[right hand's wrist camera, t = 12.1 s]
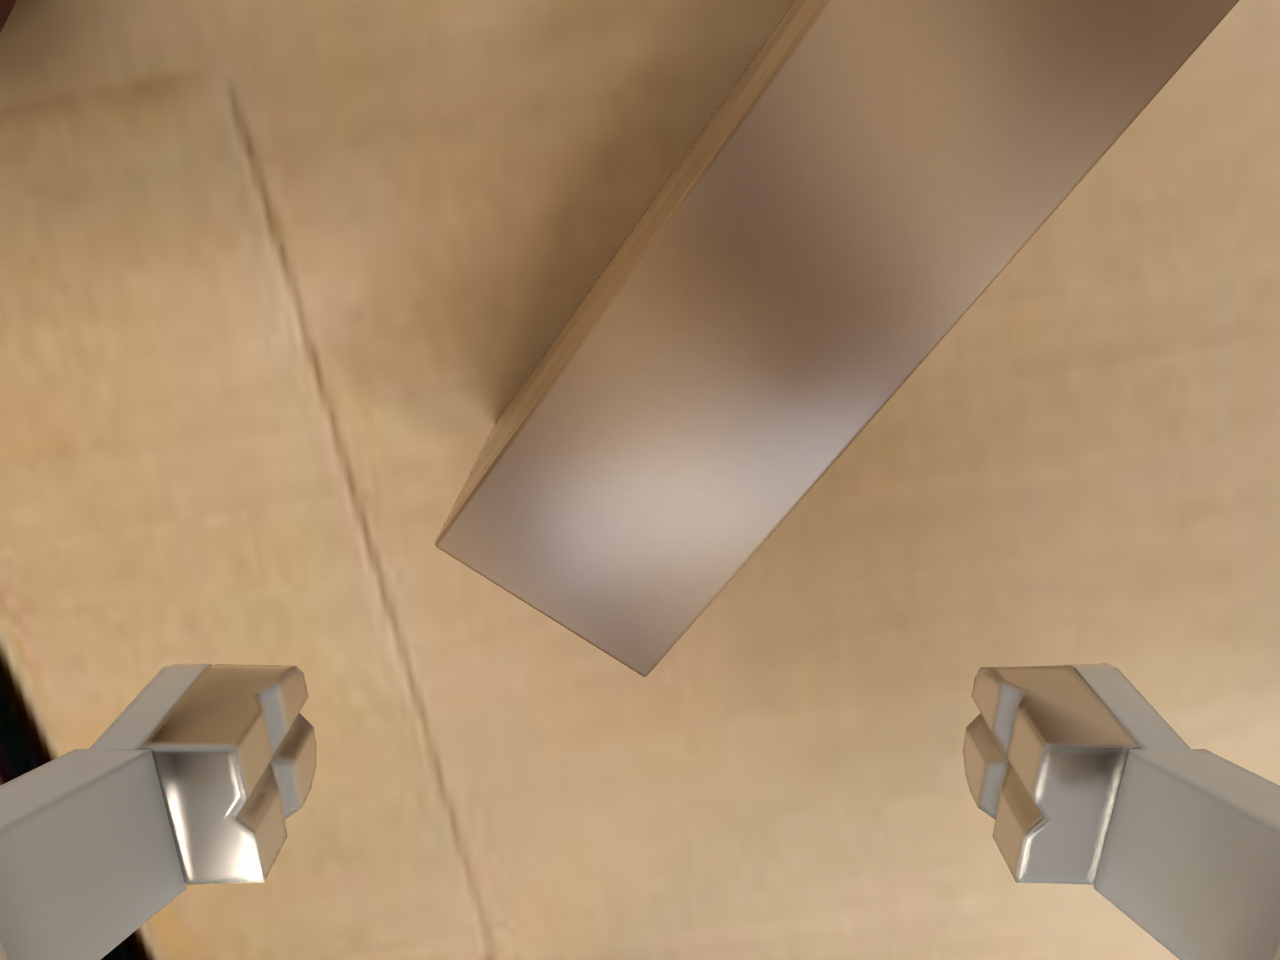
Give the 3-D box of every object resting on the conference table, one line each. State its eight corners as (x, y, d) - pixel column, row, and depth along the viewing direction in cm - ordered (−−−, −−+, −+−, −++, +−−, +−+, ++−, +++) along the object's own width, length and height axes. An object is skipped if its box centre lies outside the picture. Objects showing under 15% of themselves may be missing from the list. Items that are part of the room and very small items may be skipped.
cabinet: (938, -202, 20) (1121, -409, 12) (1103, -38, 21) (1362, -137, 14) (493, 425, 26) (432, 546, 18) (644, 526, 27) (645, 679, 19)
